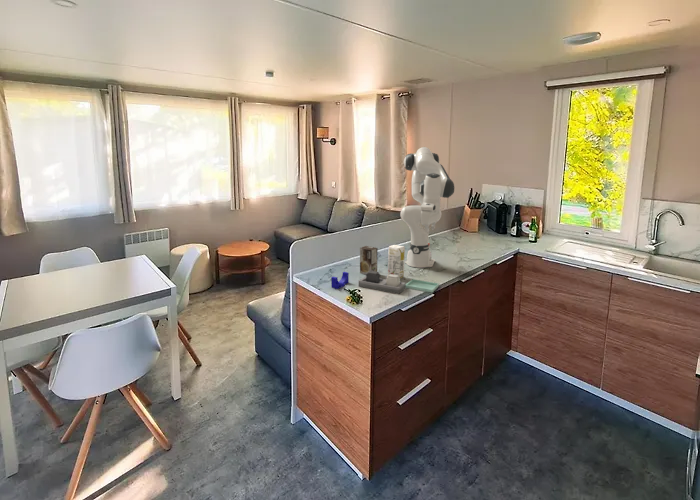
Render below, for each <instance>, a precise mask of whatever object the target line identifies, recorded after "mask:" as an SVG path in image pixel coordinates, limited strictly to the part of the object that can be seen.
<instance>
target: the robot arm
mask: <svg viewBox="0 0 700 500" xmlns="http://www.w3.org/2000/svg"><path fill="white" fill-rule="evenodd" d="M440 161H441V159H440V157H439V154H438V153H434V152H432V150H431V149H430V148H429V147H426V146H422V147H420V148H418V149H417V150H416V152H415V153H408V154H406V155H405V157H404V159H403V166H404V169H405V170H406V171H410V172H411V171H412V175H411V196H412V199H413V200H415V201H417V203H419V204H420V205H407V206H403V207H402V208H401V210H400V218H401V220H402V221H403V222H404V223H405V224H406V225H407V227H408V228H409V231H410V242H409V243H410V244H409V250H408V251H407V256H406V260H404V264H406V265H408V266H409V267H412V268H432V267H434V264H435V261H436V259H435V258H434V259H433V258H432V255H433V254H432V251H430V244H431V243H430V242H429V235H430V234H429V233H430V231H431V230H432V231H433V230H435V229H436V225H437V222H439V221H440V219H441V218H442V210H441V198H446V199H449V198H450V197H451V196H452V195H454V193H455V183H454V181H453V180H452V179H451V178H450V177H449V174H448V173H447V171H446V170H445V167H444V166H443V165H442V163H440ZM420 224H421V225H422V226H424V228H423V227H422V226H420ZM430 225H431V226H430Z"/></svg>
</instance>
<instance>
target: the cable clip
mask: <svg viewBox="0 0 700 500" xmlns="http://www.w3.org/2000/svg"><path fill="white" fill-rule="evenodd" d="M349 274H350V273H349V272H347V271H343V272H342V276H341V277H340V280H339V279H338V277H336V276H332V277H330V278H331V281H330V282H331V288H333V289H336V290H338V289H341V288H343V287H344V286H345V285H347V284H348V283H349V277H350V276H349Z"/></svg>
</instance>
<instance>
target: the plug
mask: <svg viewBox="0 0 700 500" xmlns="http://www.w3.org/2000/svg"><path fill="white" fill-rule="evenodd" d="M385 279H386V285H387V286H393V287H398V286H399V285H400V282H401V278H400V277H399V275H393V274H390V275H388V274H387V276H386V278H385Z"/></svg>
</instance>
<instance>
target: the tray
mask: <svg viewBox="0 0 700 500" xmlns="http://www.w3.org/2000/svg"><path fill="white" fill-rule="evenodd" d="M439 287H440V283H439V282H432V281H426V280H421V279H414V278H411V280H409V281H408V282H406V288H405V289H411V290H415V291H421V292H427V293H431V294H432V293H434V291H436V290H437V289H438V288H439Z"/></svg>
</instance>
